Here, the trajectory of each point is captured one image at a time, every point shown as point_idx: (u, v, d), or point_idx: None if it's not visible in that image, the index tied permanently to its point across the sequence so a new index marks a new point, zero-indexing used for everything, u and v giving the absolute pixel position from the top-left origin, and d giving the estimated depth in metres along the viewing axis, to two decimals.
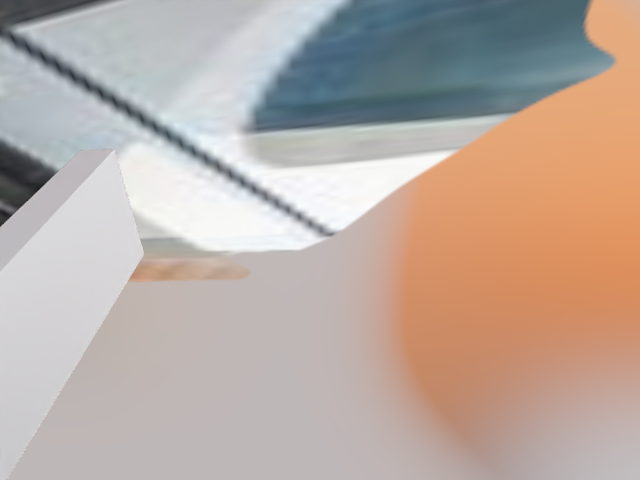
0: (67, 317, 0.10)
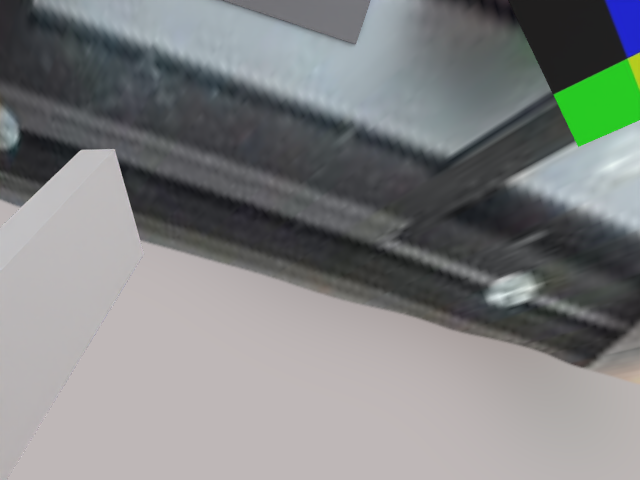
0: (67, 317, 0.10)
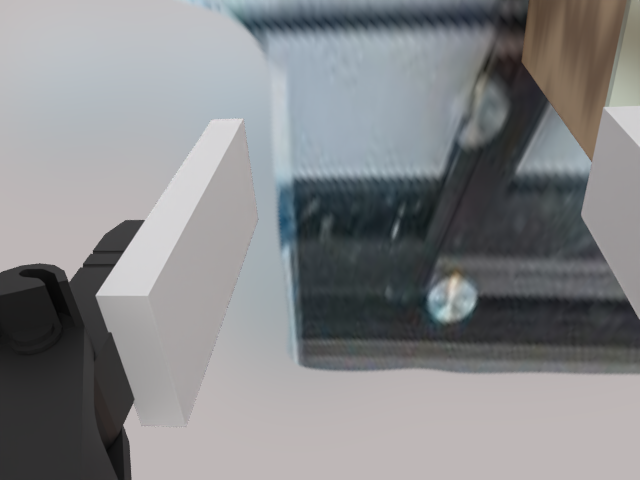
0: (221, 266, 0.11)
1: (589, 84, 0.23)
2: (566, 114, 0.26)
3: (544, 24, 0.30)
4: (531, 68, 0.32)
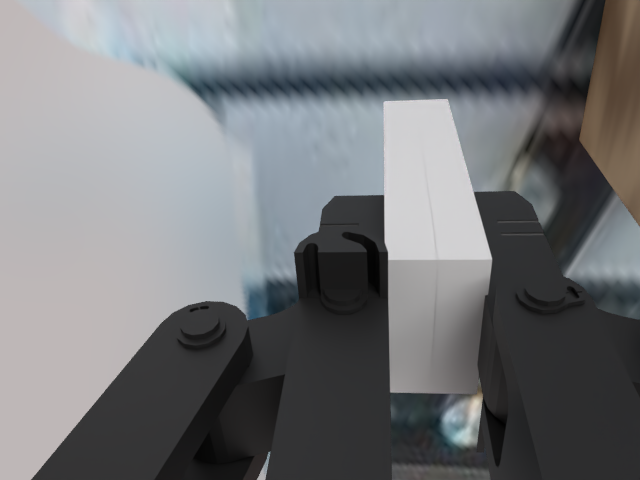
0: None
1: None
2: None
3: (627, 104, 0.20)
4: (599, 158, 0.22)
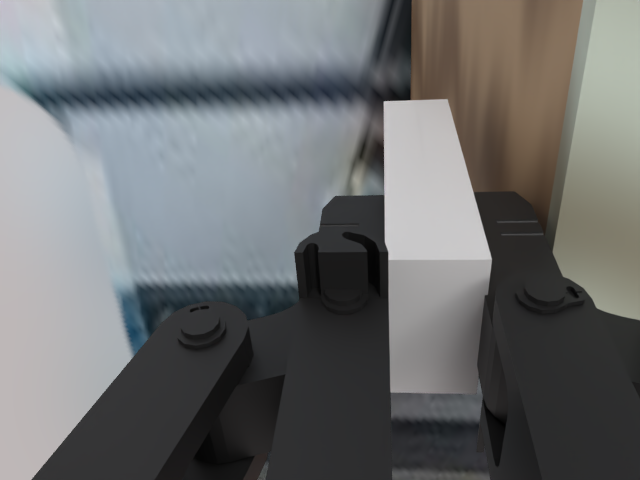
0: None
1: None
2: None
3: None
4: None
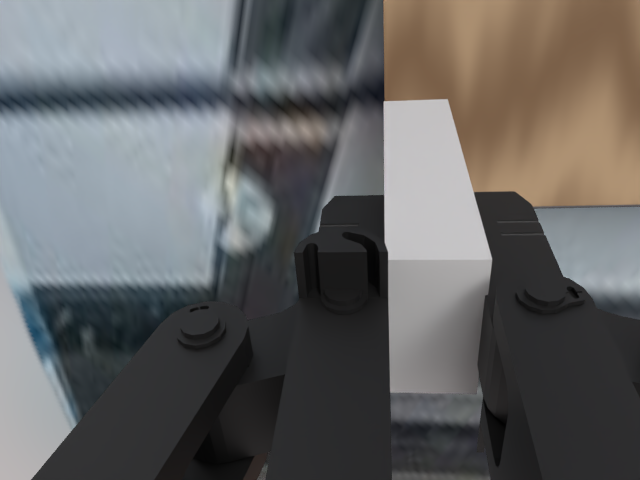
0: None
1: None
2: None
3: (507, 126, 0.19)
4: None
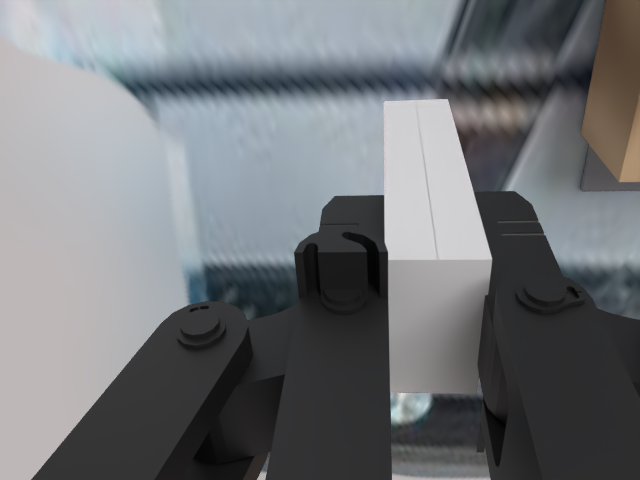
0: None
1: None
2: None
3: None
4: None
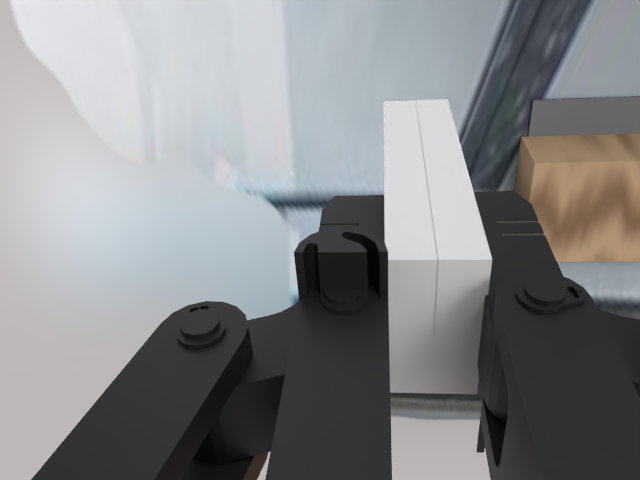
0: None
1: None
2: None
3: (576, 230, 0.46)
4: None
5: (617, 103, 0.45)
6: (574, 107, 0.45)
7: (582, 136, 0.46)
